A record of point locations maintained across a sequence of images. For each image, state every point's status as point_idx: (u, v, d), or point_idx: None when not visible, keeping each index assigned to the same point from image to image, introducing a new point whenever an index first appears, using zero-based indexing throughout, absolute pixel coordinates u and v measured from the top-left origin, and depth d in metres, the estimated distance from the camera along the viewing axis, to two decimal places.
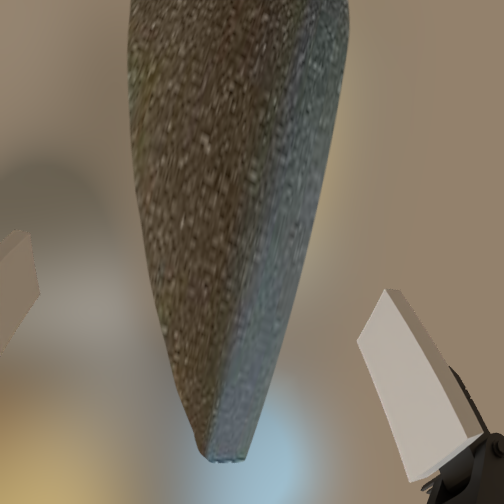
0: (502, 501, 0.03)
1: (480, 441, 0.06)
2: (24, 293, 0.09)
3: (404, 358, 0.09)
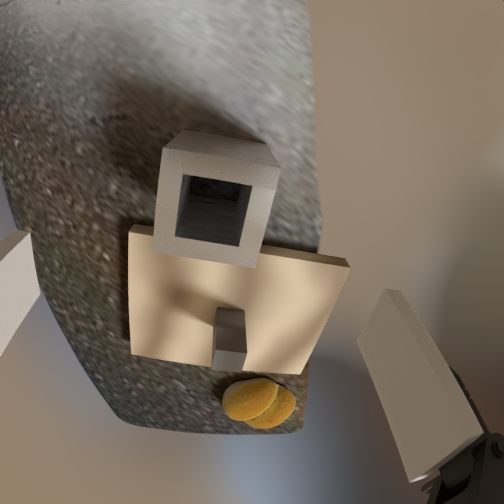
0: (502, 501, 0.03)
1: (480, 441, 0.06)
2: (24, 293, 0.09)
3: (404, 358, 0.09)
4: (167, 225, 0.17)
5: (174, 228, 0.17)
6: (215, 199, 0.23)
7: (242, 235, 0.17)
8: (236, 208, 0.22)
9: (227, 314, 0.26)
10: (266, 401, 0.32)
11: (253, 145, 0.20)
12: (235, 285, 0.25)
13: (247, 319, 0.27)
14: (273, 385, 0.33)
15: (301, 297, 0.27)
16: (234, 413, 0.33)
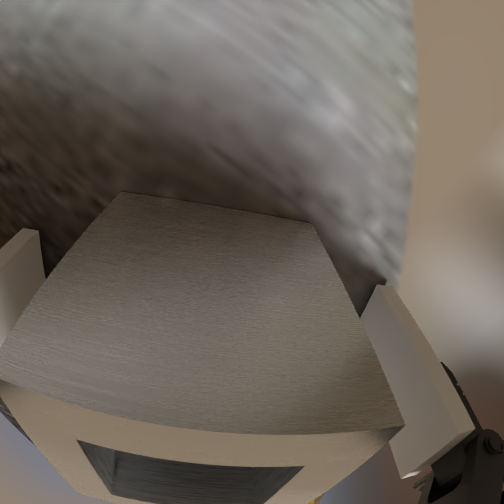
0: (495, 498, 0.03)
1: (472, 437, 0.06)
2: (32, 291, 0.09)
3: (396, 354, 0.09)
4: (88, 483, 0.05)
5: (105, 489, 0.05)
6: None
7: None
8: None
9: None
10: None
11: (287, 244, 0.08)
12: None
13: None
14: None
15: None
16: None
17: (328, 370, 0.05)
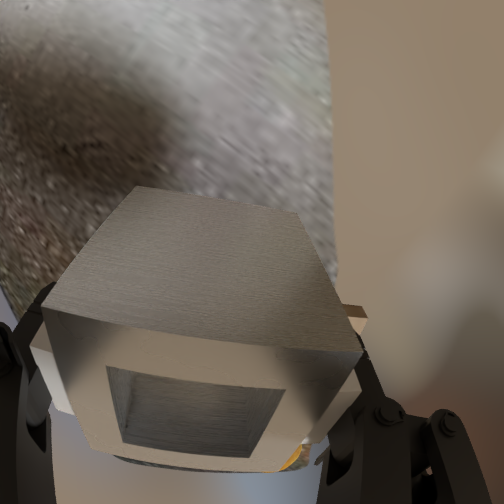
0: (403, 479, 0.04)
1: None
2: None
3: None
4: (104, 429, 0.07)
5: (118, 434, 0.07)
6: None
7: (257, 448, 0.07)
8: None
9: None
10: None
11: (274, 227, 0.10)
12: None
13: None
14: None
15: None
16: None
17: (301, 309, 0.06)
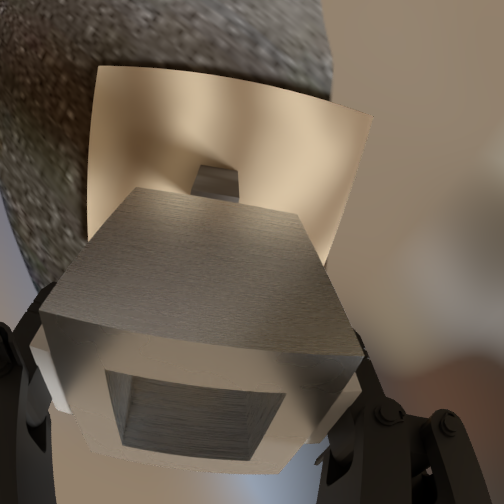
0: (403, 479, 0.04)
1: None
2: None
3: None
4: (103, 432, 0.06)
5: (118, 437, 0.07)
6: None
7: (257, 451, 0.07)
8: None
9: (213, 170, 0.19)
10: None
11: (275, 229, 0.10)
12: (225, 129, 0.18)
13: (241, 187, 0.20)
14: None
15: (313, 153, 0.19)
16: None
17: (302, 313, 0.06)
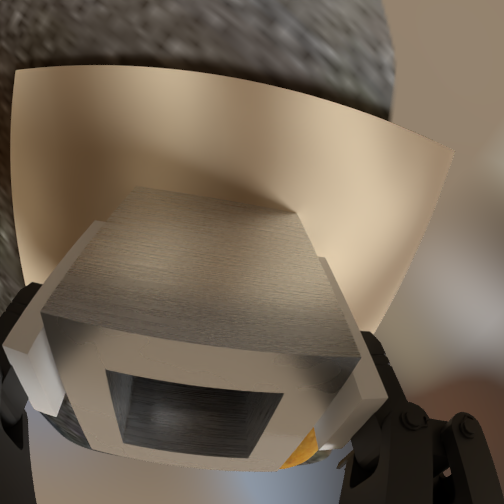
0: (425, 482, 0.04)
1: None
2: None
3: None
4: (104, 430, 0.07)
5: (119, 435, 0.07)
6: None
7: (255, 449, 0.07)
8: None
9: None
10: None
11: (274, 228, 0.10)
12: (218, 171, 0.11)
13: None
14: None
15: (366, 210, 0.12)
16: None
17: (300, 314, 0.06)
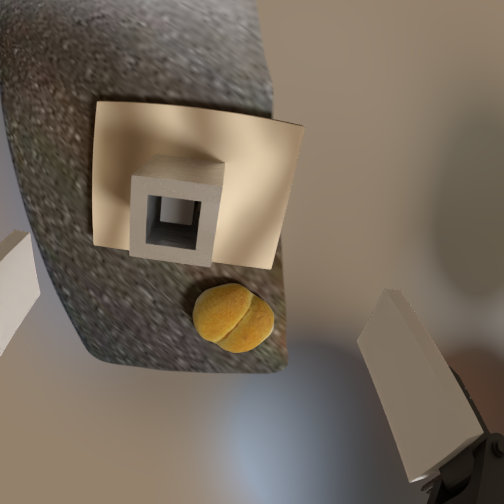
0: (502, 501, 0.03)
1: (480, 441, 0.06)
2: (24, 293, 0.09)
3: (404, 358, 0.09)
4: (139, 234, 0.21)
5: (144, 237, 0.21)
6: None
7: (197, 241, 0.21)
8: None
9: None
10: (237, 307, 0.31)
11: (211, 165, 0.24)
12: (190, 146, 0.25)
13: None
14: (246, 291, 0.32)
15: (258, 160, 0.26)
16: (204, 325, 0.32)
17: (207, 179, 0.20)
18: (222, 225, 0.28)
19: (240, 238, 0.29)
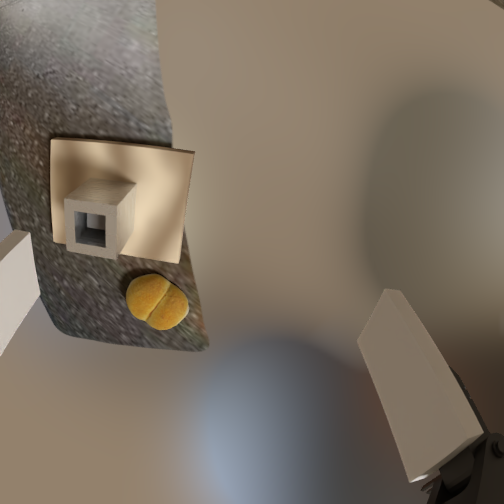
0: (502, 501, 0.03)
1: (480, 441, 0.06)
2: (24, 293, 0.09)
3: (404, 358, 0.09)
4: (71, 236, 0.29)
5: (74, 238, 0.29)
6: None
7: (106, 241, 0.29)
8: None
9: None
10: (155, 292, 0.39)
11: (123, 187, 0.32)
12: (112, 172, 0.32)
13: None
14: (163, 280, 0.41)
15: (160, 180, 0.34)
16: (132, 305, 0.40)
17: (111, 200, 0.28)
18: (139, 229, 0.36)
19: (152, 239, 0.37)
